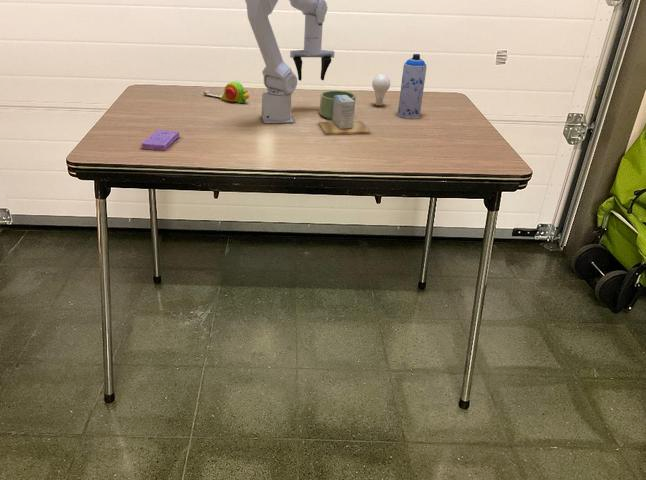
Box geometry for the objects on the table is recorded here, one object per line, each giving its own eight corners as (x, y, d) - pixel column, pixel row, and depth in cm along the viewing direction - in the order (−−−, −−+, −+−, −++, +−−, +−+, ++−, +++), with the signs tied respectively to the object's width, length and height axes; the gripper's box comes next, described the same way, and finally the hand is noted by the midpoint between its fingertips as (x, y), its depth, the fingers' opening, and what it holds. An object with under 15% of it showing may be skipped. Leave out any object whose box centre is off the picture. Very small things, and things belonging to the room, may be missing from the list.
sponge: (179, 137, 182) (179, 131, 182) (165, 151, 172) (164, 144, 171) (157, 135, 183) (156, 129, 182) (141, 149, 173) (141, 142, 172)
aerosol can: (413, 111, 212) (421, 51, 202) (424, 117, 206) (433, 56, 196) (393, 112, 210) (400, 52, 200) (403, 119, 204) (411, 57, 194)
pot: (323, 121, 200) (325, 100, 196) (316, 111, 209) (317, 90, 206) (357, 120, 201) (359, 99, 198) (349, 110, 211) (350, 90, 207)
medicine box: (353, 128, 191) (355, 101, 187) (339, 129, 190) (341, 101, 186) (344, 121, 198) (346, 94, 193) (331, 121, 197) (333, 94, 192)
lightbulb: (382, 109, 214) (385, 77, 208) (366, 106, 217) (369, 74, 211) (391, 105, 218) (394, 74, 212) (375, 102, 221) (378, 71, 215)
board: (325, 135, 188) (325, 132, 187) (318, 124, 197) (318, 121, 197) (369, 133, 190) (369, 131, 189) (360, 123, 199) (360, 120, 199)
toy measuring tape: (243, 105, 212) (242, 86, 209) (199, 96, 221) (199, 77, 218) (253, 101, 217) (253, 82, 214) (210, 92, 226) (210, 74, 223)
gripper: (332, 34, 202) (329, 76, 209) (289, 34, 200) (287, 77, 207) (336, 38, 196) (334, 81, 203) (292, 38, 194) (291, 82, 201)
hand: (311, 79), depth 205 cm, fingers open, 7 cm apart
